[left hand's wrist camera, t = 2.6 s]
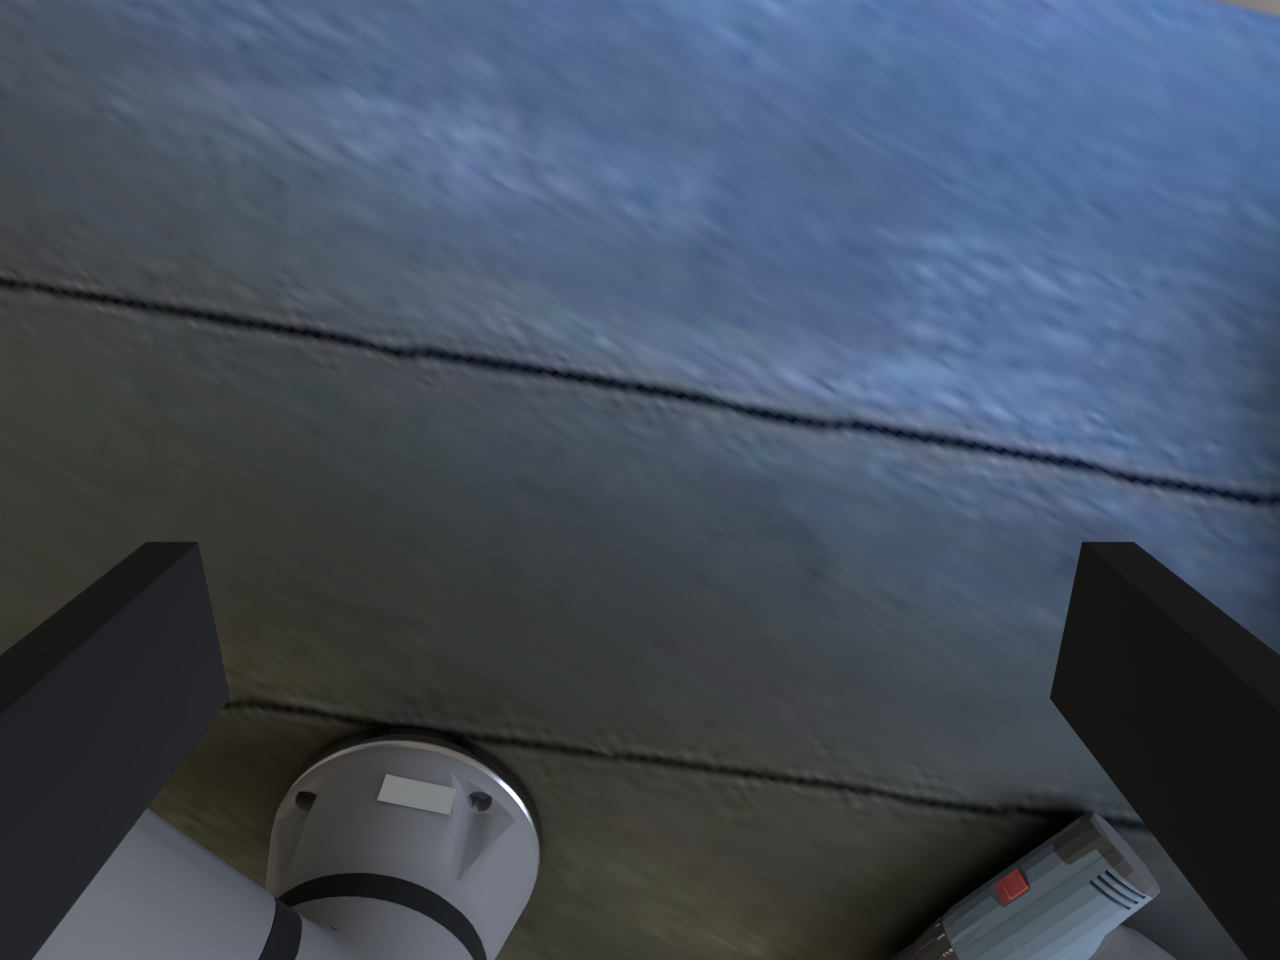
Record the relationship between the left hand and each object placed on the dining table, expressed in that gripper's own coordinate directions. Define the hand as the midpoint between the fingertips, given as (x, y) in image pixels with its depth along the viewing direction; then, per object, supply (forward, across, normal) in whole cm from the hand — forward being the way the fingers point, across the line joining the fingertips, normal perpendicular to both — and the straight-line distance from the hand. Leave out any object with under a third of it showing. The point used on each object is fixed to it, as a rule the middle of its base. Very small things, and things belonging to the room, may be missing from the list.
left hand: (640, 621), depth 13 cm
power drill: (+28, -26, +41) cm, 56 cm away
